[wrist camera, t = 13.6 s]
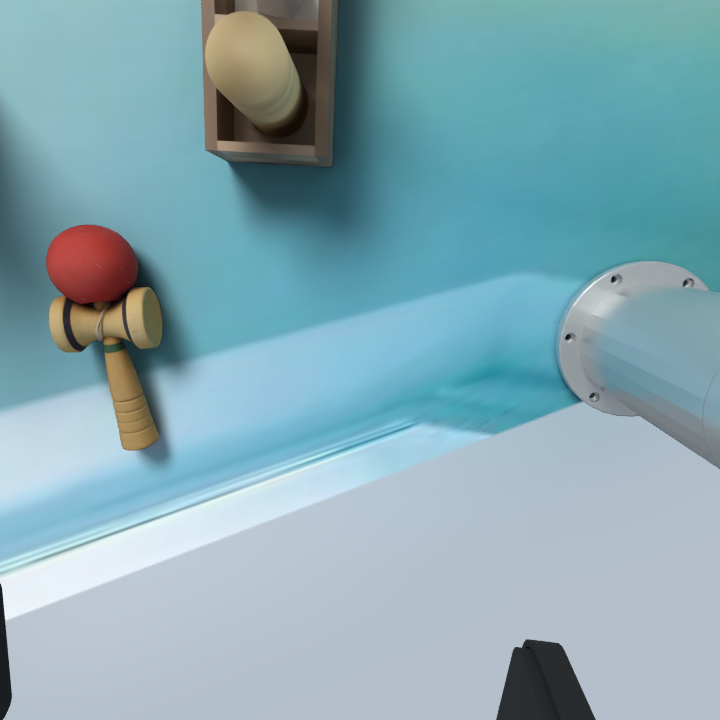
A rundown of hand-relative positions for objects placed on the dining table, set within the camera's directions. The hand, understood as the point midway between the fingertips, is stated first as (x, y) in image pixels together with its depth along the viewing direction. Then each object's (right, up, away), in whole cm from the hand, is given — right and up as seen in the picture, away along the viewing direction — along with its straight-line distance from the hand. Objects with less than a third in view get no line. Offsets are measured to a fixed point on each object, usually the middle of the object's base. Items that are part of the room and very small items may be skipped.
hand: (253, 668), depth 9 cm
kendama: (-17, +8, +31) cm, 37 cm away
